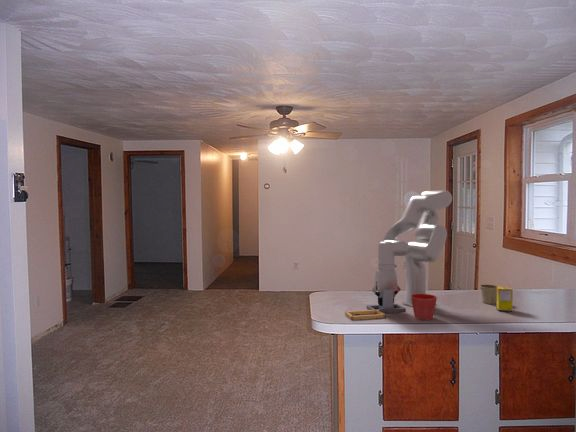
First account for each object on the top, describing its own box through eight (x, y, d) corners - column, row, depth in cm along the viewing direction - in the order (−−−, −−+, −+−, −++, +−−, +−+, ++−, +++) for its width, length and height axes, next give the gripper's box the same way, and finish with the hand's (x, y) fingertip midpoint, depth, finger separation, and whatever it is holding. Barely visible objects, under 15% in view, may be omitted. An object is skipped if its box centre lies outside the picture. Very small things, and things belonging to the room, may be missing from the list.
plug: (388, 308, 193) (388, 286, 193) (393, 310, 188) (393, 288, 188) (378, 308, 192) (379, 286, 192) (383, 311, 187) (383, 288, 187)
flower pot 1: (407, 314, 183) (407, 293, 182) (430, 314, 183) (430, 293, 183) (416, 321, 172) (416, 299, 172) (440, 320, 173) (441, 298, 173)
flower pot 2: (479, 304, 201) (480, 287, 201) (478, 300, 210) (478, 283, 210) (500, 306, 198) (501, 288, 197) (498, 301, 206) (498, 285, 206)
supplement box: (509, 309, 191) (510, 286, 191) (512, 312, 186) (512, 289, 185) (496, 308, 193) (496, 286, 193) (498, 311, 188) (498, 288, 187)
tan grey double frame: (397, 306, 196) (397, 303, 196) (414, 316, 180) (414, 312, 180) (339, 310, 190) (339, 307, 190) (351, 320, 174) (351, 316, 174)
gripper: (398, 265, 195) (398, 302, 196) (366, 266, 192) (366, 304, 192) (406, 268, 188) (406, 306, 188) (372, 269, 184) (372, 308, 185)
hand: (386, 304), depth 190 cm, fingers closed on plug, 5 cm apart
